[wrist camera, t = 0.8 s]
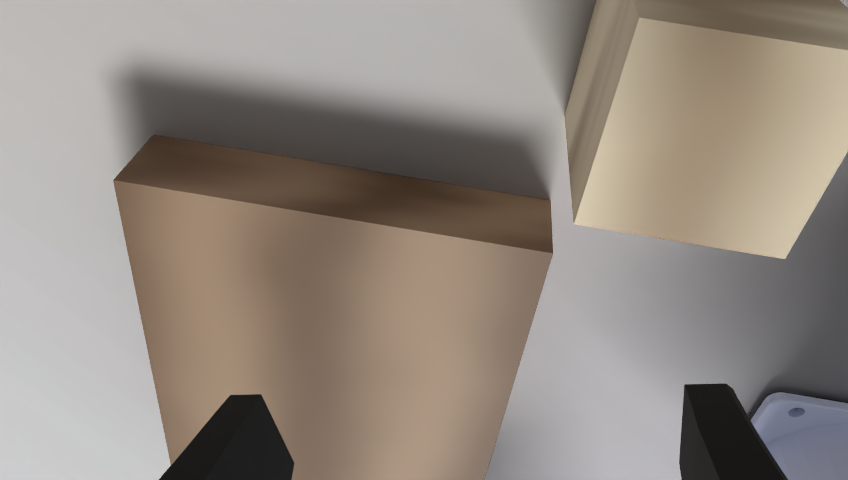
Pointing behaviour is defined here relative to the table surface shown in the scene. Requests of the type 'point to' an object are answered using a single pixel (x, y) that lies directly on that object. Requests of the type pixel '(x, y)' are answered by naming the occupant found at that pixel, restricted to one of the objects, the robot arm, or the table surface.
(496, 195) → the walnut block
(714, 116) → the maple cube
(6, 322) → the table surface
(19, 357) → the table surface
